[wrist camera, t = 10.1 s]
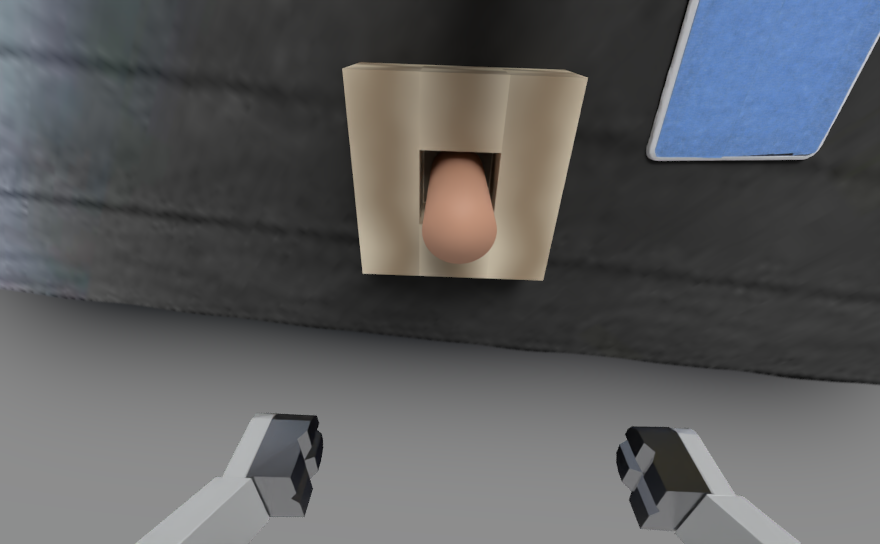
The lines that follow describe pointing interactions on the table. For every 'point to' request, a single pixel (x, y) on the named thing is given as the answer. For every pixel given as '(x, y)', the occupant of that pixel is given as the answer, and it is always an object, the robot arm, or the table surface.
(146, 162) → the table surface
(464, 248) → the dowel
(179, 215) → the table surface
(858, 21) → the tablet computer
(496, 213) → the socket block
